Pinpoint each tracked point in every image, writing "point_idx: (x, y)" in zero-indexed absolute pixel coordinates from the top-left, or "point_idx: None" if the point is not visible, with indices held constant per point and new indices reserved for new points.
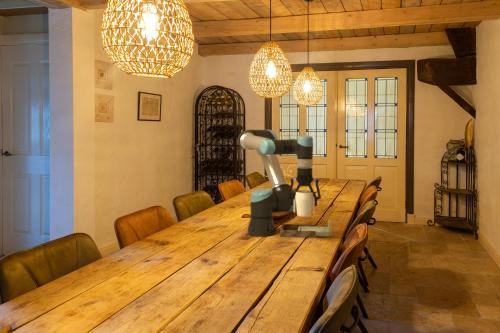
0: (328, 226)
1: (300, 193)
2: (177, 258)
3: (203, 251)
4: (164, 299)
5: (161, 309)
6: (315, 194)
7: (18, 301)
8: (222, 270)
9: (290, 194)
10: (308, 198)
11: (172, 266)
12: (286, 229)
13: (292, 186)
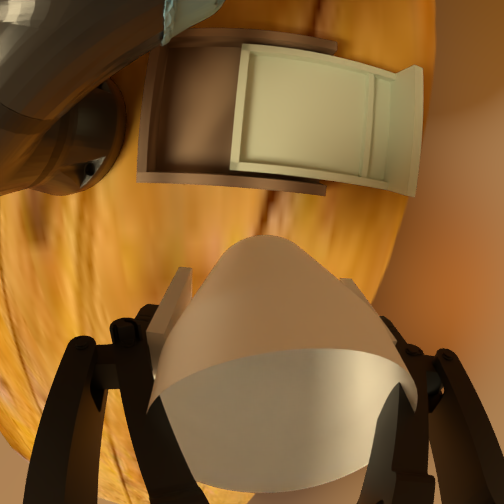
0: (397, 76)
1: (225, 482)
2: (14, 388)
3: (17, 357)
4: (100, 484)
5: (111, 493)
6: (421, 389)
7: (14, 449)
8: (105, 450)
9: (101, 411)
10: (309, 441)
11: (35, 419)
12: (179, 47)
13: (92, 500)
